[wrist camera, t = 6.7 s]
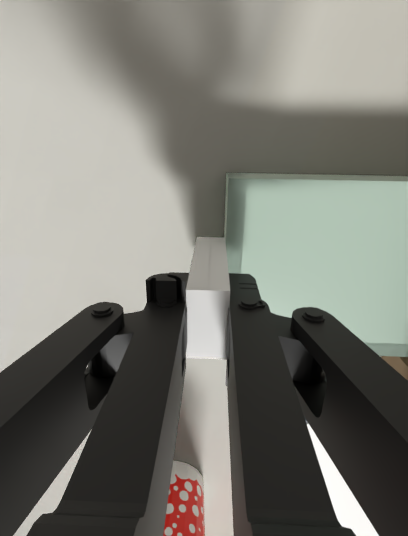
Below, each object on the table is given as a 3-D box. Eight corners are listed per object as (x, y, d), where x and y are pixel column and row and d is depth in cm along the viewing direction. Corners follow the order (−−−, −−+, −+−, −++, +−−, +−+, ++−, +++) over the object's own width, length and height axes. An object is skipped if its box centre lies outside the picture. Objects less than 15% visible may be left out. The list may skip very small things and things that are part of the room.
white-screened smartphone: (430, 517, 27) (398, 373, 22) (442, 539, 25) (412, 391, 20) (325, 538, 28) (271, 408, 23) (331, 560, 27) (274, 427, 21)
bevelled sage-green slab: (220, 322, 20) (221, 350, 17) (226, 172, 17) (228, 178, 14) (448, 329, 20) (487, 359, 17) (499, 177, 17) (556, 184, 14)
